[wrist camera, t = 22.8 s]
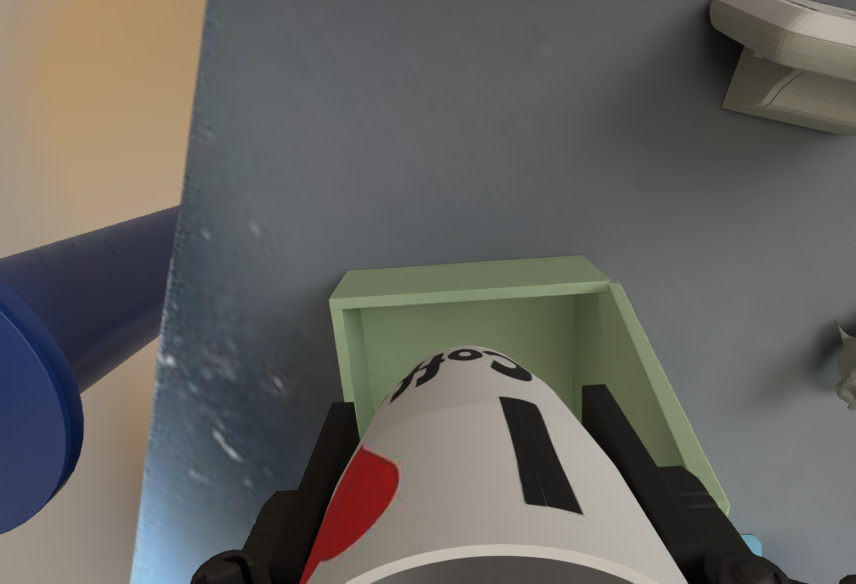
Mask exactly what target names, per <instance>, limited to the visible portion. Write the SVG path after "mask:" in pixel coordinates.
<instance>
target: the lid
mask: <svg viewBox="0 0 856 584" xmlns="http://www.w3.org/2000/svg"><path fill="white" fill-rule="evenodd" d="M603 384H605V385H606V386H607V388H608V389H609V391H610V392H611V394H612V396H613V397H614V399H615V400H616V402H617V404H618V405H619V407H620V408H621V410H622V411H623V413H624V415H625V416H626V418H627V419H628V421H629V422H630V424H631V426H632V427H633V429H634V430H635V432H636V433H637V435H638V437H639V438H640V440H641V441H642V443H643V444H644V446H645V448H646V449H647V451H648V452H649V454H650V456H651V457H652V459H653V460H654V462H655V463H656V465H657V467H664V466H680V465H681V466H683V467H684V468H685V469H687V470H688V471H690V472H691V473H692V474H694V475H695V476H696V477H698V478H699V480H700V481H701V482H702V484H703V485H704V486H705V488H706V489H707V491H708V492H709V495H711V496H712V497H713V499H714V500H715V501H716V503H717V504H718V507H719V508H721V510H722V511H723V512H724V514H725V515H726V517H727V518H728V512H729V505H730V504H729V502H728V500H727V498H726V496H725V494H724V492H723V490H722V488H721V486H720V484H719V482H718V480H717V478H716V475H715V473H714V471H713V469H712V467H711V465H710V463H709V461H708V459H707V457H706V455H705V453H704V451H703V449H702V447H701V445H700V443H699V441H698V439H697V437H696V435H695V433H694V431H693V429H692V427H691V425H690V423H689V421H688V419H687V417H686V415H685V413H684V411H683V409H682V407H681V405H680V403H679V401H678V399H677V397H676V395H675V393H674V391H673V389H672V387H671V385H670V383H669V381H668V379H667V377H666V375H665V373H664V371H663V369H662V367H661V365H660V363H659V361H658V359H657V357H656V355H655V353H654V351H653V349H652V347H651V345H650V342H649V340H648V338H647V336H646V334H645V332H644V330H643V328H642V326H641V324H640V322H639V320H638V318H637V316H636V314H635V312H634V310H633V308H632V306H631V304H630V302H629V300H628V298H627V296H626V294H625V292H624V290H623V288H622V286H621V284H620V283H608V284H607V305H606V330H605V355H604V380H603Z"/></svg>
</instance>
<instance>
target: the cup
mask: <svg viewBox="0 0 856 584" xmlns="http://www.w3.org/2000/svg"><path fill="white" fill-rule="evenodd" d="M299 584H688V583H687V581H686V580H685V578H684V576H683V575H682V573H681V571H680V570H679V568H678V567H677V565H676V563H675V562H674V560H673V558H672V557H671V555H670V554H669V552H668V550H667V549H666V547H665V545H664V544H663V542H662V541H661V539H660V537H659V536H658V534H657V533H656V531H655V529H654V528H653V526H652V524H651V523H650V521H649V520H648V518H647V516H646V515H645V513H644V511H643V510H642V508H641V507H640V505H639V503H638V502H637V500H636V498H635V497H634V495H633V494H632V492H631V490H630V489H629V487H628V486H627V484H626V482H625V481H624V479H623V477H622V476H621V474H620V473H619V471H618V469H617V468H616V466H615V465H614V464H613V462H612V461H611V460H610V459H609V457H608V456H607V455H606V454H605V453H604V451H603V450H602V449H601V448H600V446H599V445H598V444H597V443H596V442H595V440H594V439H593V438H592V437H591V436H590V434H589V433H588V432H587V431H586V430H585V428H584V427H583V426H582V425H581V423H580V422H579V421H578V420H577V419H576V417H575V416H574V415H573V414H572V413H571V411H570V410H569V409H568V408H567V407H566V405H565V404H564V403H563V402H562V401H561V399H560V398H559V397H558V396H557V394H556V393H555V392H554V391H553V390H552V389H551V388H550V387H549V386H548V385H547V384H545V383H544V382H543V381H542V380H540V379H539V378H537V377H536V376H535V375H533V374H532V373H530V372H529V371H528V370H526V369H525V368H523V367H522V366H521V365H519V364H518V363H516V362H515V361H514V360H512V359H511V358H509V357H508V356H506V355H504V354H502V353H500V352H498V351H496V350H493V349H489V348H486V347H480V346H456V347H451V348H447V349H443V350H440V351H438V352H436V353H434V354H432V355H430V356H428V357H426V358H425V359H424V360H422V361H421V362H420V363H418V364H417V365H416V366H415V367H414V368H413V369H412V370H411V371H410V372H409V373H408V375H407V376H406V377H405V378H404V379H403V380H402V381H401V382H400V383H399V384H398V385H397V386H396V387H395V388H394V389H393V390H392V391H391V392H390V393H389V394H388V396H387V397H386V398H385V399H384V401H383V402H382V403H381V405H380V407H379V408H378V410H377V412H376V414H375V415H374V417H373V419H372V421H371V423H370V425H369V426H368V428H367V430H366V432H365V434H364V435H363V437H362V439H361V441H360V443H359V445H358V446H357V448H356V450H355V452H354V454H353V456H352V457H351V459H350V461H349V463H348V465H347V466H346V468H345V470H344V472H343V474H342V476H341V477H340V479H339V481H338V483H337V485H336V487H335V490H334V492H333V495H332V498H331V500H330V503H329V506H328V508H327V511H326V514H325V516H324V519H323V522H322V524H321V527H320V530H319V532H318V535H317V538H316V540H315V543H314V546H313V548H312V551H311V553H310V556H309V559H308V561H307V564H306V567H305V569H304V572H303V575H302V577H301V580H300V583H299Z"/></svg>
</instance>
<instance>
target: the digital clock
mask: <svg viewBox="0 0 856 584" xmlns="http://www.w3.org/2000/svg"><path fill="white" fill-rule="evenodd" d="M709 12H710V19H711V23H712V25H713V27H714V28H715V29H717V30H718V31H720V32H722V33H724V34H725V35H727V36H729V37H730V38H732V39H734V40H736V41H737V42H739V43H741V44H743V45H744V48H743V51H742V53H741V56H740V59H739V62H738V64H737V67H736V70H735V72H734V75H733V78H732V80H731V83H730V86H729V88H728V91H727V93H726V96H725V99H724V101H723V106H722V107H723V108H724V109H727V110H732V111H736V112H740V113H745V114H749V115H754V116H758V117H763V118H767V119H771V120H776V121H780V122H785V123H789V124H794V125H798V126H802V127H807V128H811V129H816V130H820V131H825V132H829V133H833V134H838V135H856V12H855V11H851V10H846V9H842V8H838V7H834V6H829V5H825V4H821V3H817V2H813V1H808V0H712V2H711V5H710V11H709Z"/></svg>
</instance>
